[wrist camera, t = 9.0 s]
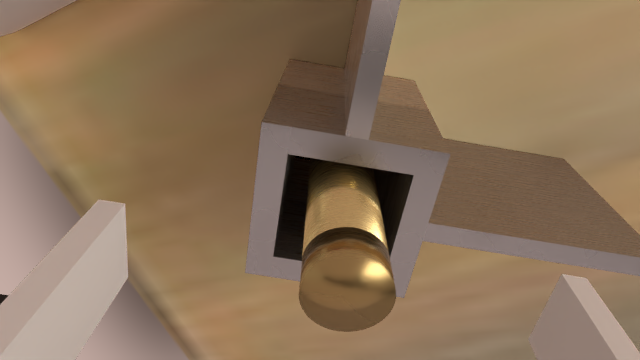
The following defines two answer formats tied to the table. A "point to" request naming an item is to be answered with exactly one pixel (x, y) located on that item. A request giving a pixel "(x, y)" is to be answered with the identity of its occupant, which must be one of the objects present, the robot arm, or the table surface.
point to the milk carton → (26, 12)
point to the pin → (344, 249)
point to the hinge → (416, 172)
